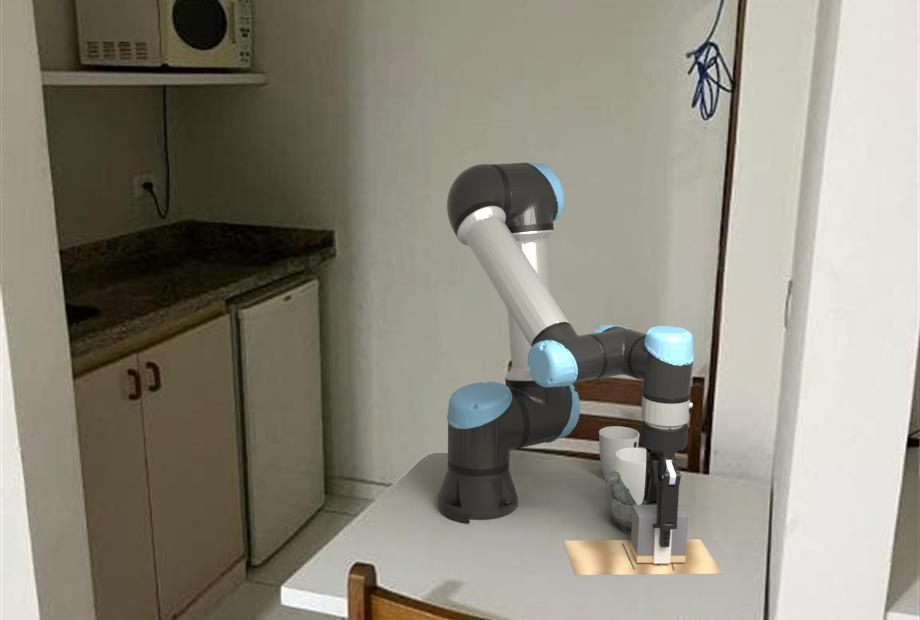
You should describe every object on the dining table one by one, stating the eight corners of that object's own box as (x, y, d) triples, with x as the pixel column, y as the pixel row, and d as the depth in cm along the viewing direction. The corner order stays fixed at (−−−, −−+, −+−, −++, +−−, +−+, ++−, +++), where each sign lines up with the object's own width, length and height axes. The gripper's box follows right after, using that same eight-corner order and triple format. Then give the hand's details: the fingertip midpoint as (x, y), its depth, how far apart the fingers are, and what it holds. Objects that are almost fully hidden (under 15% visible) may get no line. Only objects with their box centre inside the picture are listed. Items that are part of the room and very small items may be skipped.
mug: (642, 497, 181) (645, 439, 178) (662, 523, 169) (666, 462, 167) (601, 498, 180) (604, 440, 177) (619, 525, 168) (622, 464, 166)
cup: (636, 488, 185) (639, 441, 183) (595, 484, 187) (598, 438, 184) (637, 473, 193) (639, 427, 191) (598, 469, 194) (600, 424, 192)
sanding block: (636, 562, 152) (639, 517, 150) (630, 548, 157) (632, 504, 155) (685, 562, 152) (687, 517, 151) (677, 548, 157) (679, 504, 155)
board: (574, 580, 149) (574, 574, 148) (563, 545, 160) (563, 540, 160) (721, 578, 150) (722, 573, 149) (699, 544, 161) (700, 539, 161)
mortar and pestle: (652, 520, 171) (655, 459, 168) (672, 543, 162) (676, 479, 159) (594, 524, 169) (596, 463, 166) (611, 548, 160) (615, 483, 157)
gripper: (703, 441, 141) (694, 580, 146) (673, 404, 159) (666, 530, 163) (655, 441, 141) (647, 581, 146) (630, 404, 158) (624, 530, 163)
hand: (657, 553), depth 154 cm, fingers closed on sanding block, 5 cm apart
